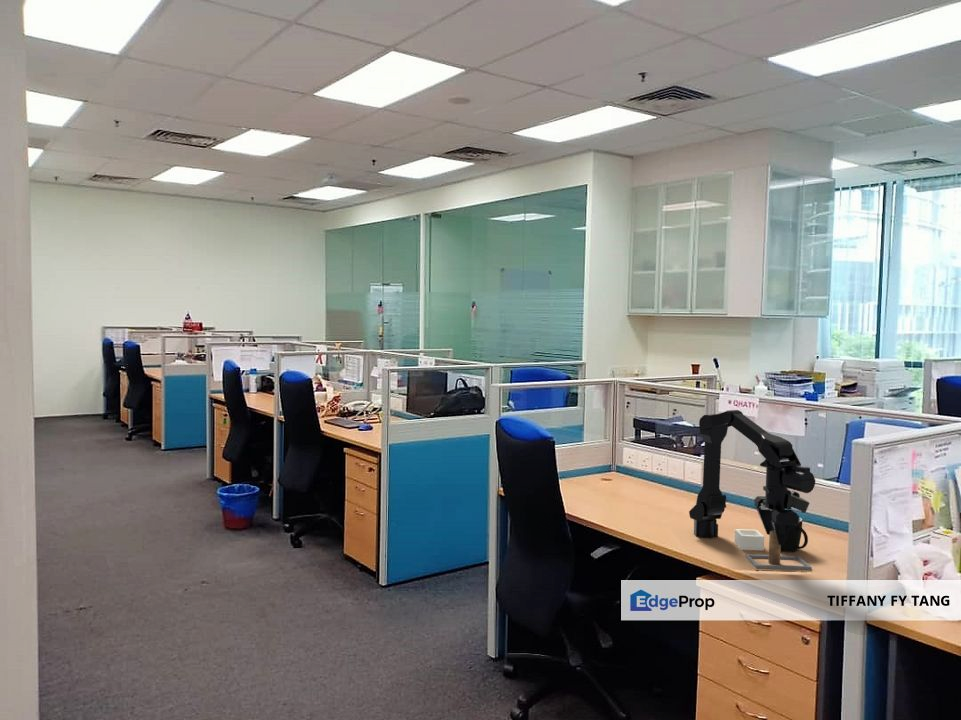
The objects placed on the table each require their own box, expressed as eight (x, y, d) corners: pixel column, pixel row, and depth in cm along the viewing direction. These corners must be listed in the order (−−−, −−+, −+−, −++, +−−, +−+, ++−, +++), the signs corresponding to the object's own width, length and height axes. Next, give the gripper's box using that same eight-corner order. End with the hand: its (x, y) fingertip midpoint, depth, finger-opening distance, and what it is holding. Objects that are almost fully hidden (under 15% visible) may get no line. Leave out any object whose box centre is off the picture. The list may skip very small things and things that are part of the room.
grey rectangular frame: (755, 570, 191) (755, 565, 191) (745, 559, 200) (745, 554, 200) (811, 572, 190) (811, 567, 190) (798, 561, 199) (798, 556, 199)
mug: (762, 548, 210) (763, 515, 209) (782, 544, 214) (783, 512, 214) (796, 560, 199) (797, 526, 199) (816, 556, 203) (818, 522, 203)
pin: (770, 565, 194) (771, 534, 193) (766, 561, 197) (768, 530, 196) (781, 565, 194) (782, 534, 193) (777, 561, 197) (778, 530, 196)
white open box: (741, 552, 206) (741, 535, 206) (734, 545, 213) (734, 529, 212) (763, 553, 206) (764, 536, 206) (756, 545, 212) (756, 529, 212)
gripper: (820, 493, 184) (818, 551, 185) (793, 477, 203) (791, 530, 204) (777, 492, 185) (775, 550, 186) (754, 477, 203) (752, 529, 204)
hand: (774, 539), depth 195 cm, fingers open, 9 cm apart
